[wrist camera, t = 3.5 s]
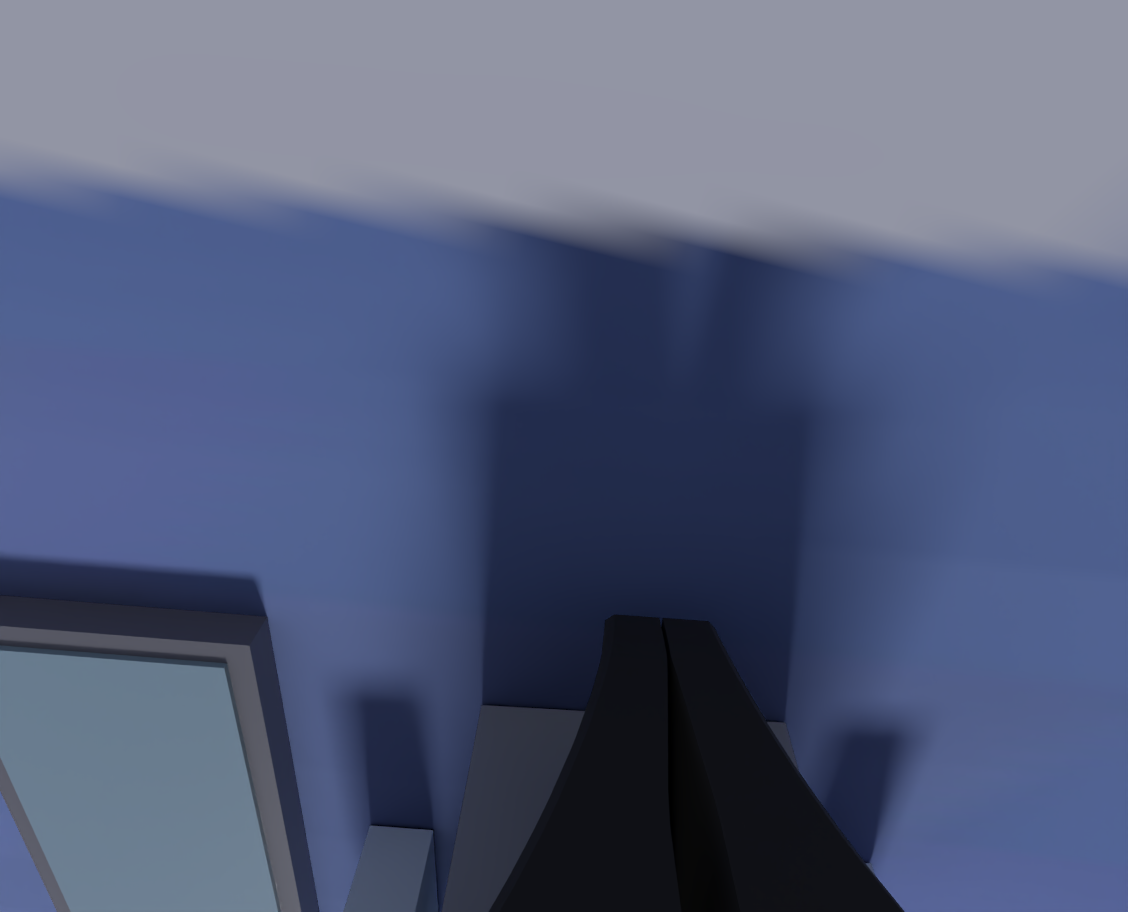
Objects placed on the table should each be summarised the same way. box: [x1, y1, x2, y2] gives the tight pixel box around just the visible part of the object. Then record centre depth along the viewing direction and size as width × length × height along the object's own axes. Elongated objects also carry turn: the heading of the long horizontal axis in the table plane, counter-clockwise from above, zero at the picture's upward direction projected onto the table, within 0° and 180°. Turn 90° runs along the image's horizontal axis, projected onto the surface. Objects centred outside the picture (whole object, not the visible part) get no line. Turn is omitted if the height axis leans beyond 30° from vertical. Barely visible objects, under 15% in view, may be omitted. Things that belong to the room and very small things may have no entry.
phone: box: [0, 595, 319, 912], centre depth 14 cm, size 5×9×1 cm, turn 177°
